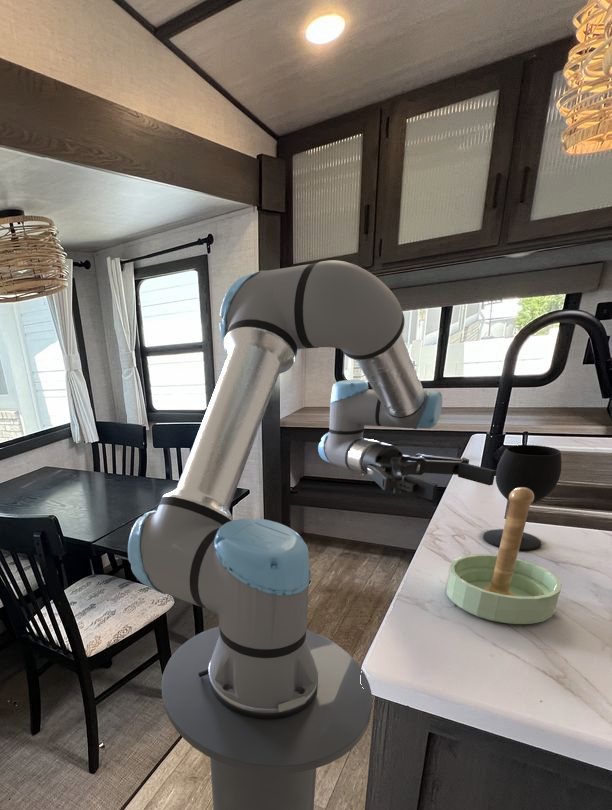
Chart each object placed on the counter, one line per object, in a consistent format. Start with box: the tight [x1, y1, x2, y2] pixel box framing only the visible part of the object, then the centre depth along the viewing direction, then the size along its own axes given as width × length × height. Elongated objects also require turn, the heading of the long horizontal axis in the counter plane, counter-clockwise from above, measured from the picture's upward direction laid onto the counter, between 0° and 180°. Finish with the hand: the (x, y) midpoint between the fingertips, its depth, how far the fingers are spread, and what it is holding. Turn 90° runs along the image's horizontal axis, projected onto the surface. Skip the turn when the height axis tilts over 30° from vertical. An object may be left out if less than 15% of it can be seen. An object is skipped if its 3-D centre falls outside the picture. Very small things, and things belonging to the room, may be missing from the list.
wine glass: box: [482, 444, 563, 552], centre depth 97 cm, size 10×10×20 cm
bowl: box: [445, 553, 563, 625], centre depth 80 cm, size 15×15×6 cm
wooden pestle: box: [483, 487, 534, 596], centre depth 77 cm, size 4×4×20 cm
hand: (464, 485), depth 82 cm, fingers open, 13 cm apart
